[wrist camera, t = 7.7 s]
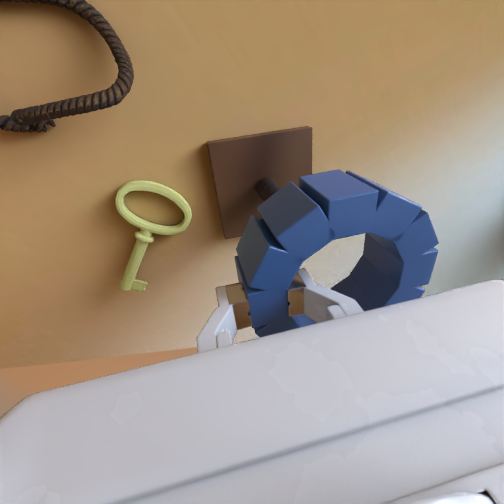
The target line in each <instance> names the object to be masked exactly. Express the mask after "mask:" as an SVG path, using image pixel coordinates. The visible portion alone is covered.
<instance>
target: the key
mask: <svg viewBox="0 0 504 504" xmlns="http://www.w3.org/2000/svg"><path fill="white" fill-rule="evenodd" d="M131 191H148V192H153V193H156V194H159V195H162V196H164V197H166V198H168V199H170V200H171V201H173V202H174V203H175V204H176V205H178V206H179V207H180V209H181V210H182V211H183V213H184V219H183V221H182V222H181V223H180V224H178V225H174V226H163V225H158V224H154V223H151V222H148V221H145V220H143V219H141V218H139V217H137V216H136V215H134V214H133V213H131V212H130V211H129V210H128V209H127V208H126V206H125V205H124V196H125V195H126V194H127V193H128V192H131ZM115 202H116V207H117V210H118V212H119V213H120V215H121V216H122V217H123V218H124V219H125V220H127V221H128V222H129V223H131V224H132V225H134V226H137V227H139V228H141V230H140V231H136V232H135V234H134V235H135V237H136V239H137V240H136V243H135V246H134V248H133V251H132V254H131V256H130V259H129V262H128V264H127V267H126V270H125V272H124V275H123V278H122V280H121V283H120V286H119V287H120V288H121V289H122V290H125V291H129V290H130V289H133V290H137V291H141V292H145V287H147V284H148V282H145V281H141V280H137V279H135V277H136V274H137V272H138V269H139V267H140V264H141V261H142V259H143V256H144V254H145V251H146V249H147V246H148V243H152V242H153V241H154V237H153V236H152V233H157V234H162V235H172V234H178V233H180V232H182V231H184V230H185V229H186V228H187V227H188V225H189V223H190V221H191V218H192V212H191V208H190V206H189V204H188V203H187V202H186V200H185V199H184V198H183V197H182V196H181V195H180V194H179V193H177V192H176V191H174V190H173V189H171V188H169V187H167V186H165V185H162V184H159V183H156V182H152V181H146V180H138V181H131V182H128V183H126V184H124V185H122V186H121V187H120V188H119V189H118V191H117V194H116V198H115Z"/></svg>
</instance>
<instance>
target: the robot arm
mask: <svg viewBox="0 0 504 504" xmlns="http://www.w3.org/2000/svg"><path fill="white" fill-rule="evenodd" d="M225 288H226V289H225ZM216 294H217V300H218V306H219V307H217V308H216V309H215V310H214V312H213V313H212V315H211V316H210V318H209V319H208V321H207V323H206V324H205V326H204V327H203V329H202V330H201V332H200V333H199V335H198V336H197V351H198V353H196V354H192V355H188V356H184V357H180V358H176V359H172V360H168V361H164V362H159V363H155V364H152V365H147V366H143V367H140V368H135V369H131V370H128V371H123V372H120V373H115V374H111V375H107V376H104V377H99V378H96V379H91V380H87V381H83V382H79V383H75V384H71V385H67V386H63V387H59V388H55V389H51V390H46V391H42V392H38V393H35V394H32V395H29V396H27V397H25V398H24V399H22V400H21V401H20V402H19V403H17V404H16V405H15V406H14V407H12V408H11V409H10V410H9V411H8V412H6V413H5V414H4V415H3V416H2V417H1V418H0V504H504V281H503V280H489V281H485V282H481V283H477V284H473V285H469V286H465V287H461V288H457V289H453V290H449V291H445V292H441V293H437V294H433V295H429V296H425V297H421V298H417V299H413V300H409V301H405V302H401V303H397V304H392V305H388V306H384V307H380V308H376V309H372V310H368V311H363V309H362V308H361V307H360V306H359V304H358V303H357V302H356V301H355V300H354V299H352V298H350V297H347V296H345V295H343V294H340V293H338V292H336V291H333V290H331V289H329V288H326V287H324V286H322V285H319V284H317V285H316V284H315V283H314V281H313V280H312V278H311V277H310V275H309V274H308V272H307V271H306V269H305V268H302V269H299V270H298V271H297V273H296V275H295V277H294V278H293V280H292V282H291V284H290V285H289V287H288V289H287V298H288V315H289V317H290V316H295V315H300V314H305V315H306V316H308V317H309V318H311V319H312V320H314V321H315V322H317V323H316V324H312V325H308V326H304V327H300V328H296V329H292V330H288V331H284V332H280V333H276V334H272V335H268V336H264V337H260V338H256V339H252V340H248V341H244V342H240V343H236V344H232V342H233V340H234V337H235V335H236V333H237V330H238V329H242V328H246V327H249V326H252V320H251V315H250V313H249V311H250V307H249V301H248V299H247V296H246V293H245V291H244V286H243V283H242V282H240V283H235V284H230V285H225V286H221V287H216Z"/></svg>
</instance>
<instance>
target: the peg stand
mask: <svg viewBox="0 0 504 504" xmlns="http://www.w3.org/2000/svg"><path fill="white" fill-rule="evenodd" d="M207 145H208V150H209V156H210V161H211V167H212V172H213V178H214V183H215V188H216V194H217V199H218V205H219V210H220V216H221V221H222V227H223V232H224V236H225V239H229V238H234V237H239V236H242V234H243V232H244V230H245V228H246V225H247V223H248V221H249V218H250V216H251V215H254V216H257V217H260V218H262V216H261V215H260V213H259V211H258V210H257V207H258V206H259V205H261V204H262V203H263V202H265V201H266V200H267V199H268V198H270V197H271V196H272V195H273V194H275V193H276V192H277V191H278V190H280V189H281V188H282V187H283V186H285V185H286V184H287V183H288V182H290V181H291V182H293V183H294V184H295V185H296V186H297V187H298V188H299V177H300V176H306V175H311V174H312V127H309V126H305V127H298V128H292V129H285V130H279V131H272V132H266V133H259V134H253V135H246V136H240V137H234V138H227V139H221V140H214V141H208V142H207Z"/></svg>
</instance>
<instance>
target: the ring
mask: <svg viewBox="0 0 504 504" xmlns="http://www.w3.org/2000/svg"><path fill="white" fill-rule="evenodd" d="M257 210H258V211H259V213H260V215H261V216H262V218H260V217H257V216H254V215H251V216H250V218H249V221H248V223H247V225H246V228H245V230H244V232H243V234H242V237H241V239H240V241H239V243H238V246H237V248H236V251H237V254H238V256H235V262H236V268H237V274H238V280H239V283H240V282H242V283H243V286H244V291H245V293H246V296H247V299H248V301H249V307H250V311H249V313H250V315H251V320H252V328H254V330H255V333H256V334H257V335H258V336H259V337H264V336H268V335H272V334H276V333H280V332H284V331H288V330H292V329H296V328H300V327H304V326H308V325H312V324H316V323H317V322H315V321H314V320H312V319H311V318H309V317H308V316H306V315H305V314H300V315H295V316H290V317H289V315H288V298H287V289H288V287H289V285H290V284H291V282H292V280H293V278H294V277H295V275H296V273H297V271H298V270H299V268H300V266H301V264H302V263H303V261H305V260H306V259H307V258H309V257H310V256H312V255H313V254H314V253H316V252H317V251H318V250H320V249H321V248H322V247H324V246H325V245H327V244H328V243H329V242H331V241H332V240H335V239H340V238H344V237H349V236H353V235H358V234H363V233H366V234H365V243H364V251H363V255H362V257H361V258H360V260H359V261H358V263H357V264H356V266H355V267H354V269H353V270H352V272H351V273H350V275H349V276H348V277H346V278H345V279H344V280H342V281H341V282H339V283H338V284H336V285H335V286H333V287H332V288H331V290H333V291H336V292H338V293H340V294H343V295H345V296H347V297H350V298H352V299H354V300H355V301H356V302H357V303H358V304H359V306H360V307H361V308H362V309H363V311H368V310H372V309H376V308H380V307H384V306H388V305H392V304H397V303H401V302H405V301H409V300H413V299H417V298H420V297H421V295H422V294H423V293H424V292H425V290H424V289H423V288H421V287H420V286H422V285H426V284H428V283H429V281H430V277H431V274H432V270H433V267H434V264H435V260H436V257H437V253H438V250H437V249H435V248H434V246H436V245H437V244H438V240H437V237H436V234H435V232H434V229H433V226H432V223H431V220H430V218H429V215H428V213H427V212H426V211H424V210H422V207H421V206H420V205H418V204H416V203H414V202H412V201H410V200H408V199H406V198H404V197H402V196H400V195H398V194H396V193H394V192H392V191H390V190H388V189H387V188H385V187H383V186H381V185H379V184H377V183H374V182H372V181H370V180H368V179H366V178H363V177H361V176H359V175H357V174H355V173H352V172H350V171H346V173H344V172H343V171H341V170H333V171H328V172H322V173H317V174H311V175H306V176H300V177H299V188H298V187H297V186H296V185H295V184H294V183H293V182H291V181H290V182H288V183H287V184H286V185H285V186H283V187H282V188H281V189H280V190H278V191H277V192H276V193H275V194H273V195H272V196H271V197H270V198H268V199H267V200H266V201H265V202H263V203H262V204H261V205H259V206H258V207H257Z"/></svg>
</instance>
